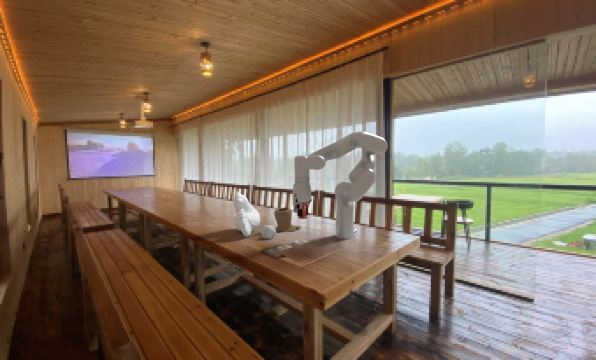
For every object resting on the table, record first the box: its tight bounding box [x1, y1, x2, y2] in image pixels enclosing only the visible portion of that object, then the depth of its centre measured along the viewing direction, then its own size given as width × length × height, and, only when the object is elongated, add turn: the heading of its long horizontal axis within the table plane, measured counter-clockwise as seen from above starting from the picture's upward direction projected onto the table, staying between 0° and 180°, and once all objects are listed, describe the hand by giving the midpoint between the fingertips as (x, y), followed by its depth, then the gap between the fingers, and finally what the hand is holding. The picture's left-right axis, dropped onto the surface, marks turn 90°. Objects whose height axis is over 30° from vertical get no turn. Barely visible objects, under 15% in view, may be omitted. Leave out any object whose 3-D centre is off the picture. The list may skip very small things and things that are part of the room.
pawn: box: [297, 202, 308, 220], centre depth 137 cm, size 5×5×10 cm
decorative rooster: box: [232, 191, 261, 238], centre depth 156 cm, size 25×16×25 cm
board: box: [260, 238, 310, 259], centre depth 132 cm, size 26×12×1 cm, turn 136°
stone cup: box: [273, 206, 302, 233], centre depth 160 cm, size 15×12×15 cm
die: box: [260, 224, 278, 240], centre depth 145 cm, size 8×9×10 cm
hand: (302, 215), depth 137 cm, fingers closed on pawn, 3 cm apart
